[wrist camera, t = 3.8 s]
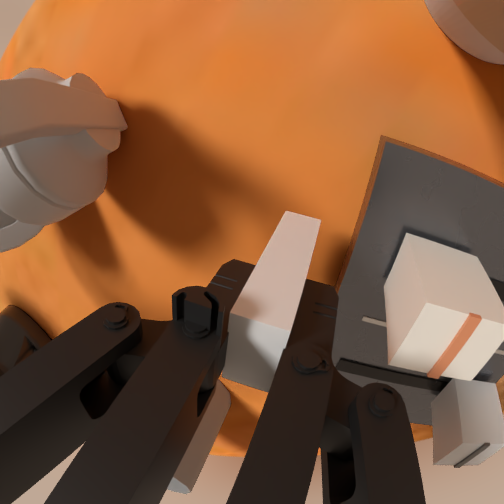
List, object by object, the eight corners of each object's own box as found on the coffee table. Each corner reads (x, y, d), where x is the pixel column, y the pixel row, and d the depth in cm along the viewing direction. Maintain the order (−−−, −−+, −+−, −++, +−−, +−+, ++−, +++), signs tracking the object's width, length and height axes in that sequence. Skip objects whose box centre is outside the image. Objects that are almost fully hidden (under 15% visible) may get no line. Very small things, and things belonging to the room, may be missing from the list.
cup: (214, 420, 30) (177, 496, 22) (147, 382, 30) (101, 453, 22) (244, 390, 25) (202, 488, 17) (161, 343, 26) (100, 432, 17)
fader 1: (383, 287, 14) (387, 368, 10) (406, 231, 12) (427, 304, 8) (450, 306, 13) (470, 384, 9) (477, 255, 12) (515, 328, 8)
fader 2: (430, 403, 17) (433, 466, 13) (454, 376, 15) (463, 444, 11) (471, 408, 16) (477, 467, 12) (495, 383, 15) (508, 445, 10)
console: (298, 377, 23) (289, 410, 20) (381, 135, 13) (389, 146, 10) (449, 408, 20) (451, 439, 17) (573, 223, 11) (599, 248, 8)
